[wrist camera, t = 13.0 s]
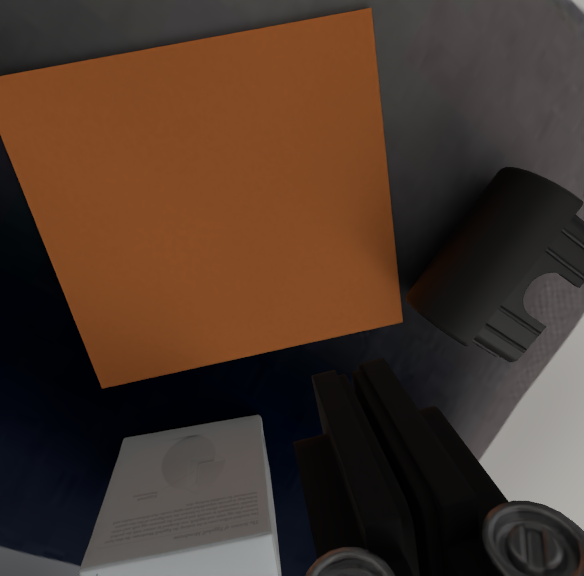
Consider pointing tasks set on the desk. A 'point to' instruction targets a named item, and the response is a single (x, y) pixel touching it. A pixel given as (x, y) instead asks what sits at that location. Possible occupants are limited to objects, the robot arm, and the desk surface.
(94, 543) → the cosmetics box
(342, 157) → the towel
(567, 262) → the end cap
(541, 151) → the desk surface
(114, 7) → the desk surface
